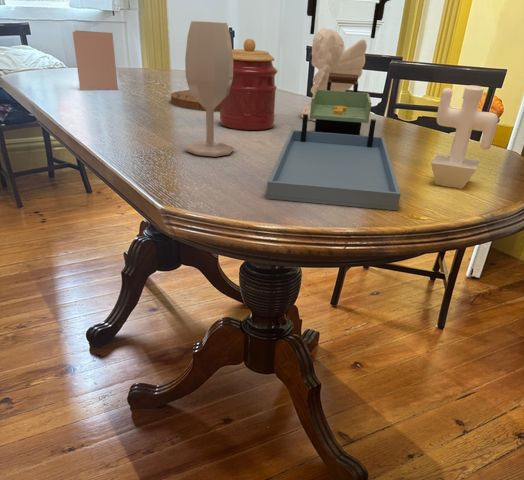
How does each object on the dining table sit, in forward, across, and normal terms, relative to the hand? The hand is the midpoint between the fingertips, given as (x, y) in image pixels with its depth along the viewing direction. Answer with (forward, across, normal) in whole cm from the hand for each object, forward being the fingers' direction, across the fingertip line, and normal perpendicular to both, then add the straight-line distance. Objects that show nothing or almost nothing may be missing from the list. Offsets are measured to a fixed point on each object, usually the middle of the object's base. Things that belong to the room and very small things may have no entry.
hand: (342, 36), depth 115 cm
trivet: (+19, +33, -21) cm, 44 cm away
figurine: (+19, -21, +44) cm, 52 cm away
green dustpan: (+14, -1, +10) cm, 17 cm away
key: (+13, -1, +16) cm, 21 cm away
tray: (+19, -1, +42) cm, 46 cm away
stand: (+19, -1, +16) cm, 25 cm away
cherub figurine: (+19, +2, -11) cm, 22 cm away
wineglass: (+19, +23, +36) cm, 46 cm away
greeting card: (+20, +72, -31) cm, 81 cm away
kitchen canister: (+19, +20, +7) cm, 29 cm away
